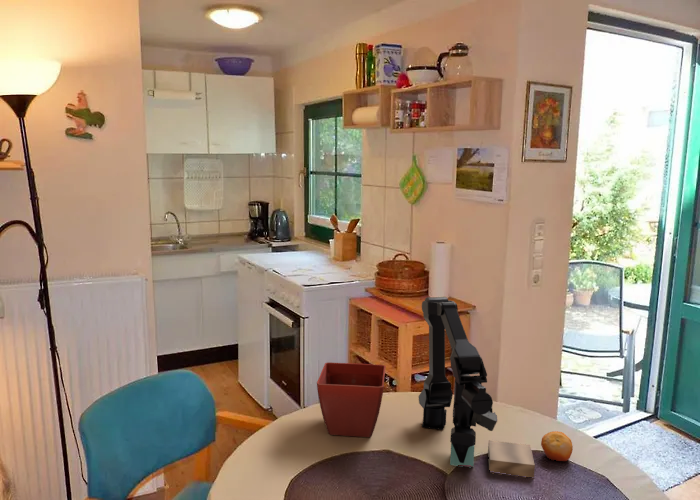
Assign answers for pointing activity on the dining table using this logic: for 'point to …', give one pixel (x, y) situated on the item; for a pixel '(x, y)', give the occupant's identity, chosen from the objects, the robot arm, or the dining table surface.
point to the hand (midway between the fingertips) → (462, 454)
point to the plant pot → (351, 397)
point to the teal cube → (468, 460)
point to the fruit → (557, 446)
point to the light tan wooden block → (511, 458)
